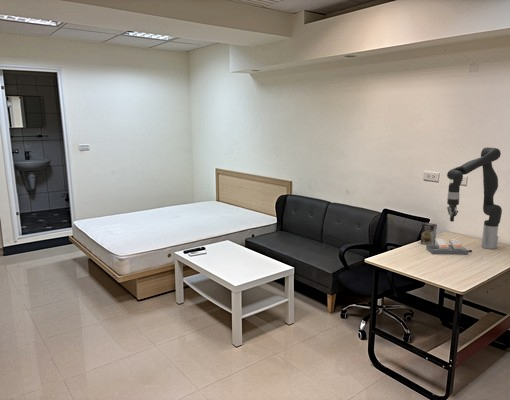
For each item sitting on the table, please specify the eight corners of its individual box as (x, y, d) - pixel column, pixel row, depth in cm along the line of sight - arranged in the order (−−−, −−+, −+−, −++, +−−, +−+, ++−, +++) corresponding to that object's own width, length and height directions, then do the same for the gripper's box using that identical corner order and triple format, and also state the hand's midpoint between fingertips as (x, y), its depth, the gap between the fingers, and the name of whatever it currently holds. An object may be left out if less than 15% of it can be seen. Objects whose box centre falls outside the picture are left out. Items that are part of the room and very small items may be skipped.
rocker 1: (443, 241, 286) (443, 238, 285) (448, 249, 278) (448, 247, 277) (434, 241, 287) (435, 238, 286) (439, 249, 278) (440, 246, 277)
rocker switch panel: (467, 249, 287) (468, 244, 287) (475, 254, 276) (476, 249, 275) (426, 248, 289) (426, 243, 289) (432, 254, 278) (432, 248, 277)
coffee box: (420, 243, 302) (421, 223, 299) (423, 241, 306) (425, 222, 303) (432, 246, 295) (433, 225, 292) (435, 244, 300) (437, 224, 296)
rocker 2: (457, 241, 286) (457, 239, 285) (462, 249, 277) (463, 246, 276) (448, 241, 286) (449, 239, 285) (454, 249, 277) (454, 246, 276)
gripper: (463, 199, 270) (461, 223, 273) (454, 195, 283) (453, 218, 286) (452, 199, 270) (450, 223, 274) (444, 196, 283) (442, 219, 287)
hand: (451, 221), depth 280 cm, fingers closed
